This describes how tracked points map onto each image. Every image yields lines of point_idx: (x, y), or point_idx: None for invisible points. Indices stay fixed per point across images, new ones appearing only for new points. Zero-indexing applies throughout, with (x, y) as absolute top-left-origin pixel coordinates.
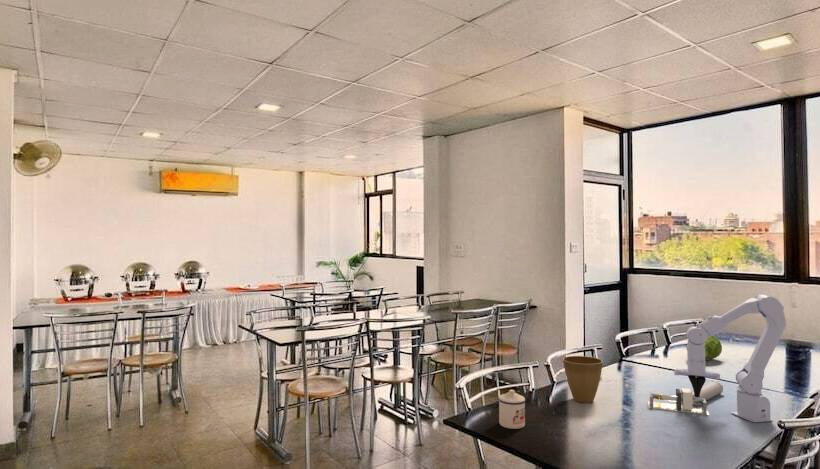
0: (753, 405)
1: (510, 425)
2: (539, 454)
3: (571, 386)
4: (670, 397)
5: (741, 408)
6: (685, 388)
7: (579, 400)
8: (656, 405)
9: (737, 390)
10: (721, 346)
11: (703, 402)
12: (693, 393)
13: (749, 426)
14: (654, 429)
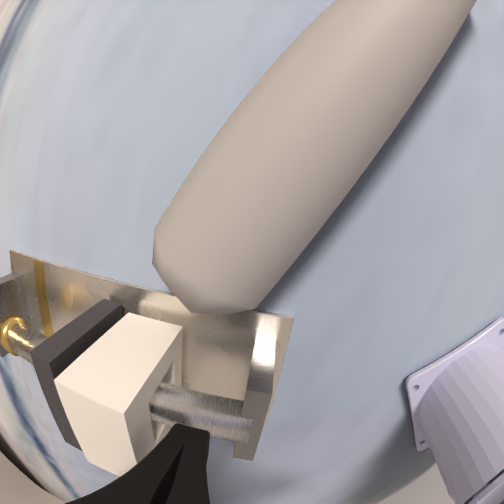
0: (447, 488)
1: None
2: (26, 475)
3: None
4: None
5: (431, 445)
6: (83, 395)
7: None
8: (37, 315)
9: (471, 501)
10: None
11: (233, 456)
12: (200, 271)
13: (372, 476)
14: (88, 477)
